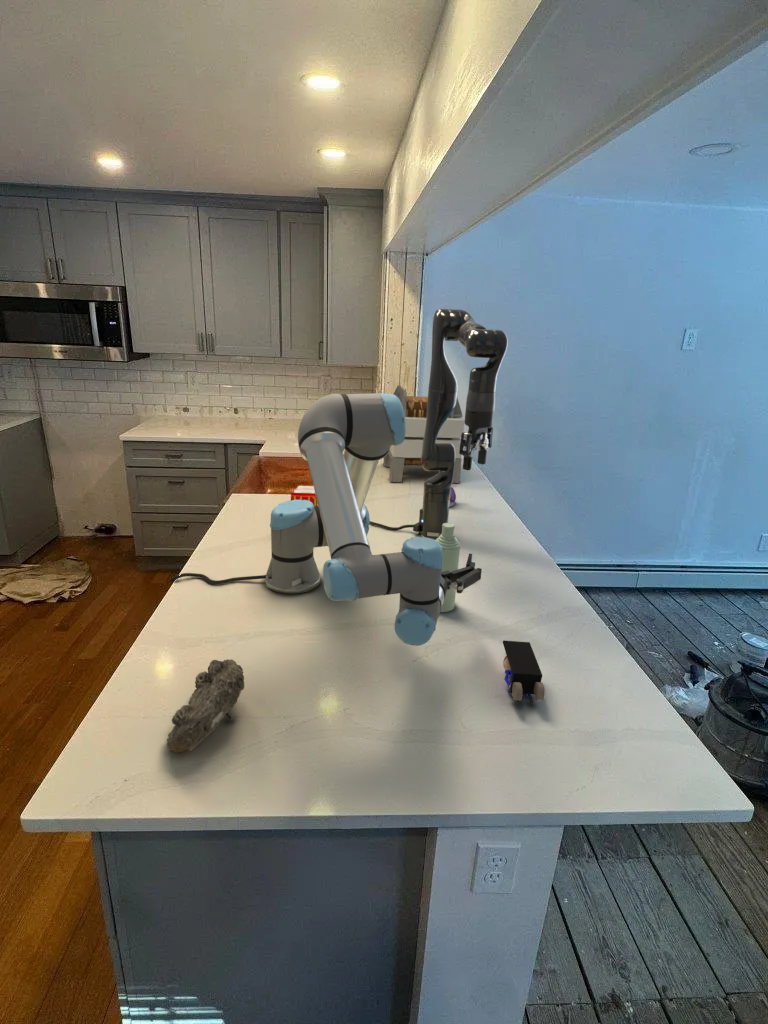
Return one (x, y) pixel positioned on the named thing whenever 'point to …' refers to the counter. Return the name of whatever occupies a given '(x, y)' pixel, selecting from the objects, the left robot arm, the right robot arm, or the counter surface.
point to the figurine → (452, 497)
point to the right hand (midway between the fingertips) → (474, 466)
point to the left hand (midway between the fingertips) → (442, 554)
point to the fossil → (206, 705)
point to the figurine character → (522, 671)
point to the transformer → (422, 436)
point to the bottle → (449, 560)
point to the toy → (305, 494)
